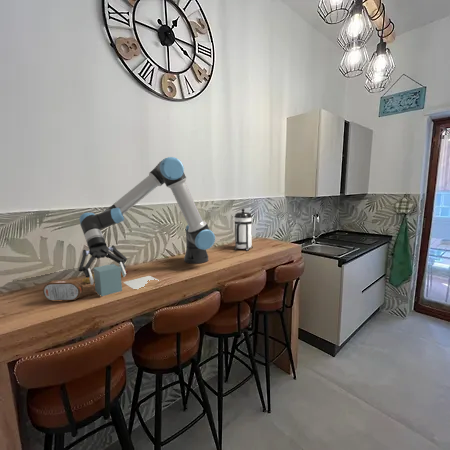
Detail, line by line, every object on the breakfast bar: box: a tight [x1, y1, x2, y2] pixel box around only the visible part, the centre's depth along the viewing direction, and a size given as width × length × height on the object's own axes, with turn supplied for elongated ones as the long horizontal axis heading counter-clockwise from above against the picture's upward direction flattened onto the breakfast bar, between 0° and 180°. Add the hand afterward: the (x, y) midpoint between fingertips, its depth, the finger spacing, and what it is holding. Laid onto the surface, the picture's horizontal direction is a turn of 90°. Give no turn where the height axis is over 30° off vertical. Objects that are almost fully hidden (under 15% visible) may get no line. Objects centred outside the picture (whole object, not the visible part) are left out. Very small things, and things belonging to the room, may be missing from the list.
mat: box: [122, 275, 159, 290], centre depth 127 cm, size 14×14×1 cm
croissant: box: [81, 269, 129, 284], centre depth 132 cm, size 21×10×8 cm, turn 124°
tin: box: [42, 279, 84, 301], centre depth 108 cm, size 15×3×8 cm, turn 92°
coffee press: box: [233, 208, 253, 252], centre depth 191 cm, size 17×16×30 cm
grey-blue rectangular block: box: [93, 263, 123, 297], centre depth 116 cm, size 9×9×11 cm
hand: (109, 279), depth 114 cm, fingers open, 13 cm apart
